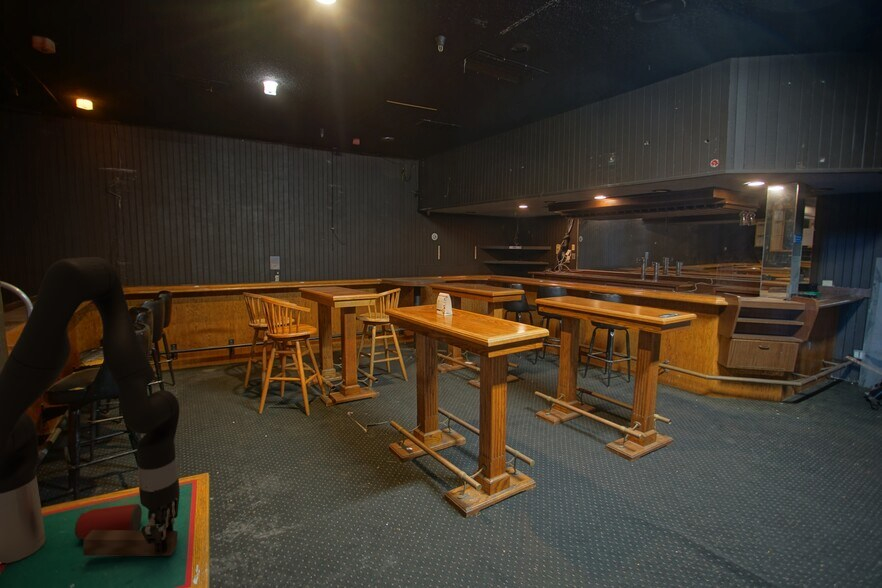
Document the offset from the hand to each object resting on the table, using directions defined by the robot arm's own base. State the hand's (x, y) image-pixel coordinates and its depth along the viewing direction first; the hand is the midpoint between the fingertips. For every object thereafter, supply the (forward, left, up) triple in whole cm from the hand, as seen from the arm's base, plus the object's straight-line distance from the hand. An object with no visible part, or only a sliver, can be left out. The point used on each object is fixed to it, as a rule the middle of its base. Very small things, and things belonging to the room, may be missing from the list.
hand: (164, 546), depth 100 cm
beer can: (-10, +10, +1) cm, 14 cm away
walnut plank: (-7, 0, 0) cm, 7 cm away
